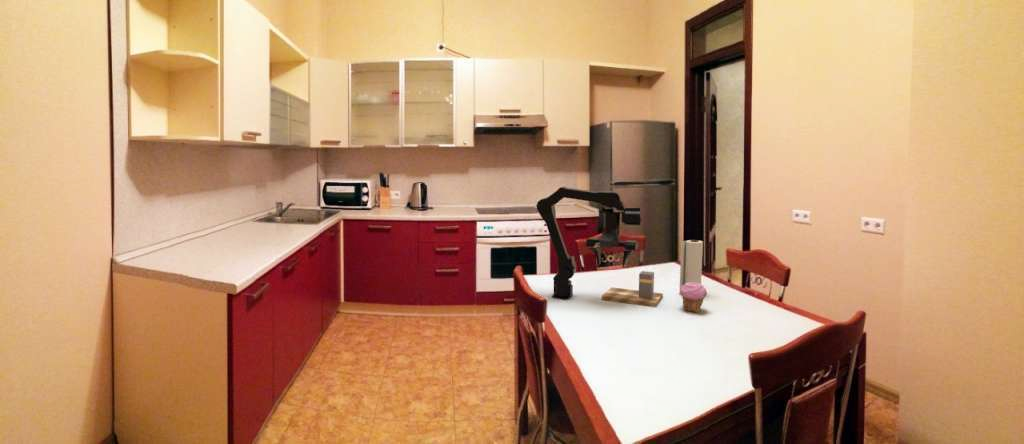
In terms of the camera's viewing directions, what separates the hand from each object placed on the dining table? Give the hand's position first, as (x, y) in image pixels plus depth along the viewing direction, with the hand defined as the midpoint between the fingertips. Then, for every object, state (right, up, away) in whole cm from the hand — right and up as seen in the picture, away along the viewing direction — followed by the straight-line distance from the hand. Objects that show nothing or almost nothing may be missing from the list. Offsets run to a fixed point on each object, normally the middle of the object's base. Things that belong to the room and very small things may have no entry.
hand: (611, 266), depth 171 cm
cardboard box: (+9, -13, +3) cm, 16 cm away
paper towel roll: (+33, -12, +7) cm, 35 cm away
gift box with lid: (+13, -11, 0) cm, 17 cm away
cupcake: (+26, -15, -11) cm, 32 cm away
